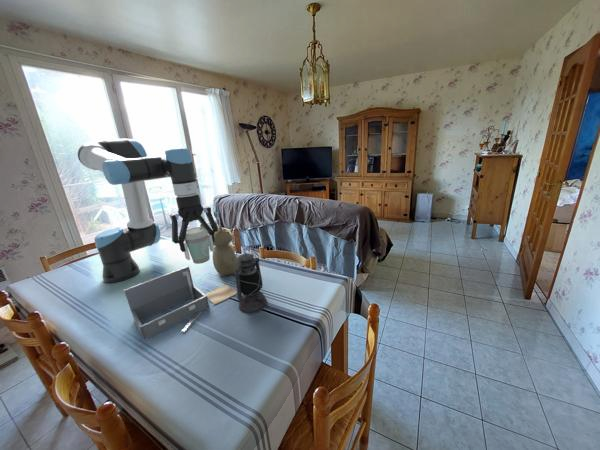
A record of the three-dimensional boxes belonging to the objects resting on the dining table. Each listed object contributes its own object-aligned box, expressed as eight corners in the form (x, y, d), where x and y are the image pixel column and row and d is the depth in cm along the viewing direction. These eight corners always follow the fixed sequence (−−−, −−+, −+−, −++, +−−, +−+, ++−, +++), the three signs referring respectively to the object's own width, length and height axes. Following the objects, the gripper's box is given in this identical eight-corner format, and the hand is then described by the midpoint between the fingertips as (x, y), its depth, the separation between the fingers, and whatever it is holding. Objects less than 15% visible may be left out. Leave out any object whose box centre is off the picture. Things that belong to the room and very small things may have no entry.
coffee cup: (205, 266, 88) (198, 234, 84) (184, 265, 90) (176, 234, 86) (217, 255, 96) (212, 226, 92) (198, 255, 98) (192, 226, 94)
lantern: (252, 318, 85) (239, 238, 76) (230, 309, 91) (216, 234, 81) (274, 299, 95) (265, 226, 86) (253, 292, 101) (242, 222, 91)
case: (134, 320, 89) (123, 289, 85) (194, 293, 103) (188, 265, 99) (144, 341, 79) (133, 307, 75) (210, 307, 93) (203, 277, 89)
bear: (258, 273, 116) (251, 223, 108) (224, 285, 107) (214, 231, 100) (241, 258, 132) (235, 214, 125) (210, 268, 124) (201, 220, 116)
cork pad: (203, 295, 101) (203, 294, 101) (225, 285, 108) (225, 284, 108) (214, 305, 94) (214, 304, 94) (237, 293, 101) (237, 292, 101)
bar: (185, 334, 81) (184, 331, 81) (182, 333, 81) (181, 330, 81) (201, 314, 90) (200, 311, 90) (198, 313, 91) (197, 311, 90)
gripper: (156, 202, 76) (173, 268, 83) (220, 190, 89) (231, 247, 96) (150, 199, 81) (167, 261, 88) (212, 188, 94) (222, 243, 101)
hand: (200, 254), depth 92 cm, fingers closed on coffee cup, 8 cm apart
